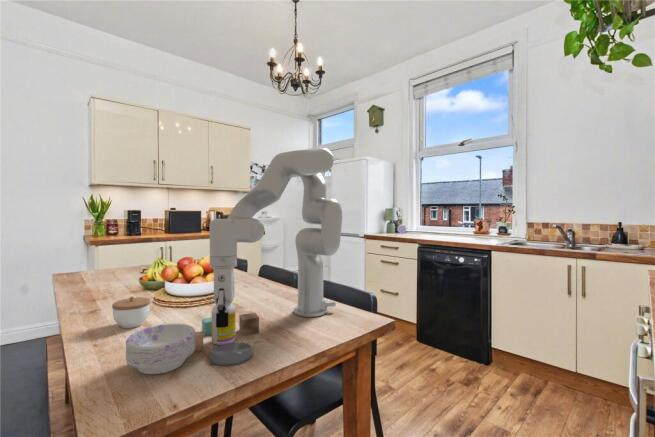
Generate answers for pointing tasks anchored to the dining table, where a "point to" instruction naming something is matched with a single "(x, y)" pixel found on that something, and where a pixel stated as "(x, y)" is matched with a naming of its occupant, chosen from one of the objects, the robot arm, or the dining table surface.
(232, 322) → the supplement bottle
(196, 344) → the glossy tan egg
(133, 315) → the lidded jar
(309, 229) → the robot arm
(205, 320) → the teal block
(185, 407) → the dining table surface
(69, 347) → the dining table surface
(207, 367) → the dining table surface
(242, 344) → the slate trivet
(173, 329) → the paper bowls
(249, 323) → the walnut cube
